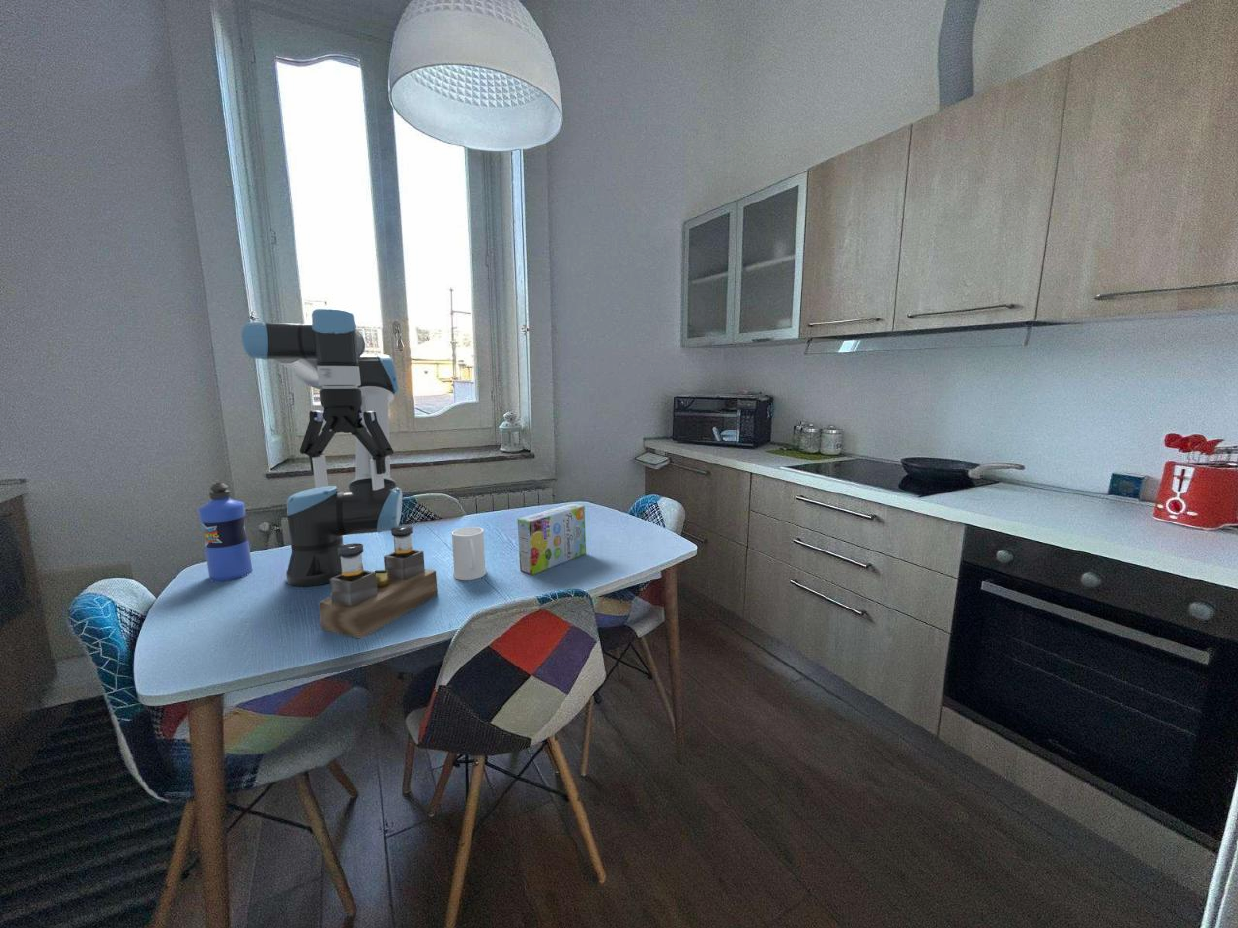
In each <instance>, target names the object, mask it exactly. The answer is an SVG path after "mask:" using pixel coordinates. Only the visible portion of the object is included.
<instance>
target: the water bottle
mask: <svg viewBox="0 0 1238 928" xmlns="http://www.w3.org/2000/svg"><path fill="white" fill-rule="evenodd" d="M209 490H210V492H209V493H208V494H209V499H210V501H209V502H207V503H205V504H204V505H201V506H199V507H198V517H199V522H201V525H202V530H203V532H204V535H205V537H204V539H205V540H204V550H205V558H206V565H207V573H208V579H209V581H211V580H212V581H211V582H218V581H219V582H227V581H226V580H228V581H232V579H234V580H237V579H236V578H238V579H240V578H239V577H241V578H243V577H242V576H244V577H246V576H248V575H250V574H252V572H253V566H252V559H251V558H252V557H251V551H250V550H251V548H250V543H249V538H248V535H247V531H246V507H245V502H243V501H239V500H235V499H233V498H231V490H229V486H228V485H227V484H225V483H224V482H215V483H213V484H212V485H211V486H210V488H209ZM251 571H252V572H251ZM249 573H250V574H249ZM247 574H248V575H247ZM245 575H246V576H245Z"/></svg>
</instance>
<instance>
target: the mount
mask: <svg viewBox="0 0 1238 928" xmlns="http://www.w3.org/2000/svg"><path fill="white" fill-rule="evenodd" d="M424 554H425V553H424V551H423V550H418V549H413V555H411V556H408V557H406V558H399V557H395V551H394V552H391V553H389V554H386V555H383V560H384V562H383V564H384V570H387V571H388V574H389V585H388V586H387V587H383V588H377V580H376V572H375V571H371V570H370V571H369V570H365V569H363V577H361V578H359V579H357V580H354V581H352V582H351V581H346V580H343V577H342V574H340V575H338V576H336V577H333V578H331V579H330V582H329V587H330V596H328V597H326V598H325V599H322V600H320V601H318V609H319V619H320V627H321V630H324V631H327V632H331V633H336V634H341V635H344V636H347V637H348V636H349V637H353V638H357V639H361V640H362V639H364V638H365V637H367V636H369V635H371V634H372V633H374V632H376V631H377V630H379V629H381V628H382V627H384V626H386V625H387V624H389V623H391V622H392V621H395V620H396V619H398V618H400V617H401V616H403V615H405V614H406V613H408V612H410V611H411V610H414V609H415V608H416V607H418V606H420V605H422V604H424V603H426V602H427V601H429V600H430V599H432V598H434V597H436V596H437V595H438V593H439V592H438V579H437V570H433V569H427V568H425V555H424Z"/></svg>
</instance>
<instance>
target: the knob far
mask: <svg viewBox="0 0 1238 928" xmlns="http://www.w3.org/2000/svg"><path fill="white" fill-rule="evenodd" d="M390 531H391V536H393V544H394V552H395V557H399V558H406V557H408V556H411V555H413V550H414V548H413V539H412V534H413V533H414V528H413V526H412V525H398V526H397V527H394V528H392V529H391V530H390Z"/></svg>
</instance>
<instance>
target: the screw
mask: <svg viewBox="0 0 1238 928" xmlns="http://www.w3.org/2000/svg"><path fill="white" fill-rule="evenodd" d="M374 572H376V580H377V588H383V587H387V586H388V585H389V574H388V571H387V570H385V569H379V570H378V569H377V570H375V571H374Z"/></svg>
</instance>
